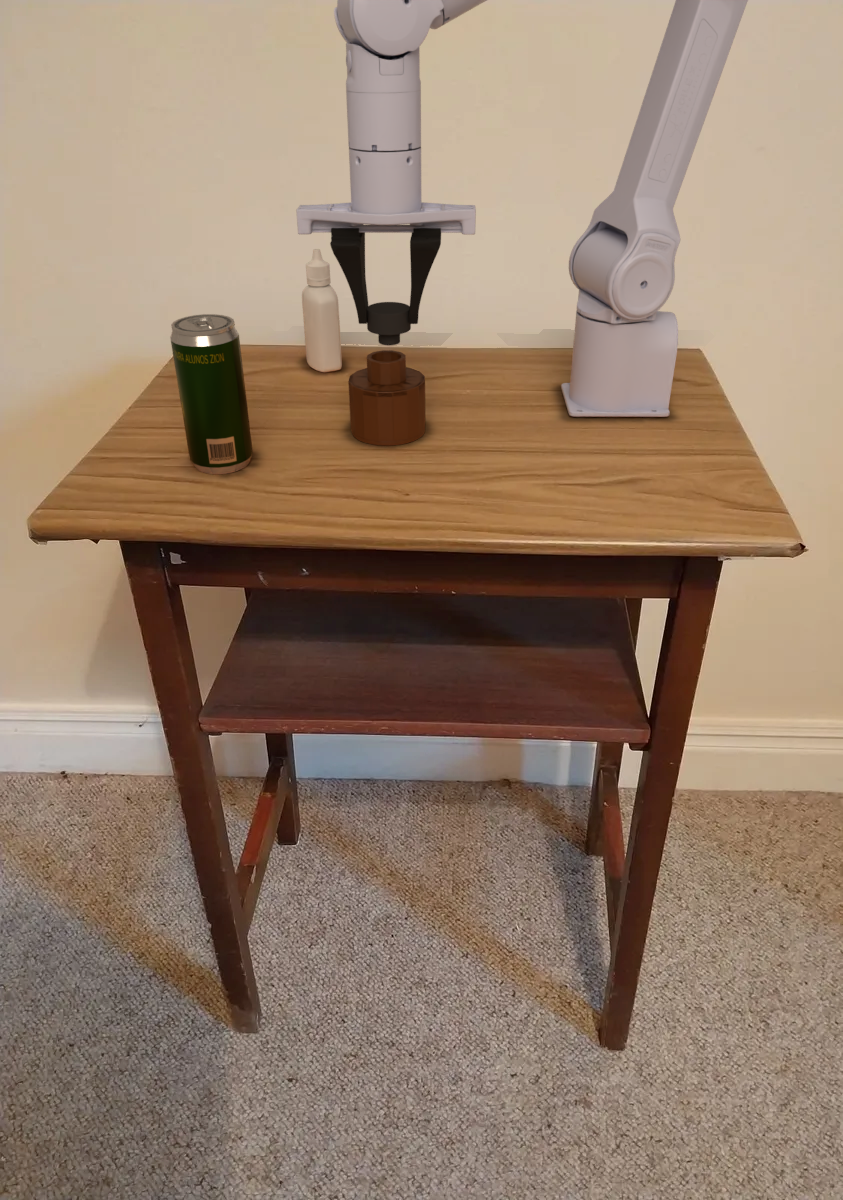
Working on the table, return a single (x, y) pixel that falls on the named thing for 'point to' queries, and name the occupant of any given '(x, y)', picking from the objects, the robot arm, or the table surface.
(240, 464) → the beer can
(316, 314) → the eye dropper bottle
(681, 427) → the table surface
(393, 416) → the amber bottle
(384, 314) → the cylinder
